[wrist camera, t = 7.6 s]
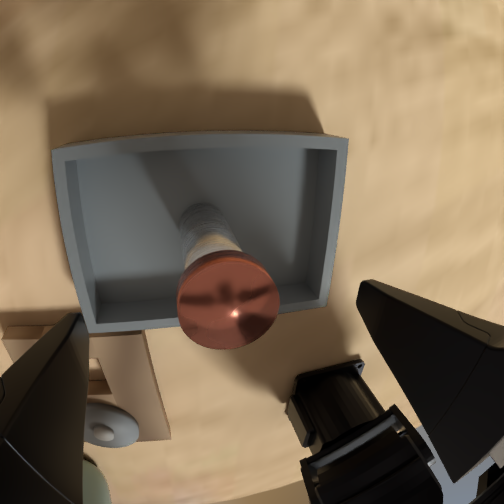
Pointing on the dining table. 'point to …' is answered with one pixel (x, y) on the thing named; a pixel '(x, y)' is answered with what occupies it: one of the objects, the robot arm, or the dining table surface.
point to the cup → (94, 485)
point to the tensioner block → (112, 386)
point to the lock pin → (221, 284)
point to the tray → (181, 198)
